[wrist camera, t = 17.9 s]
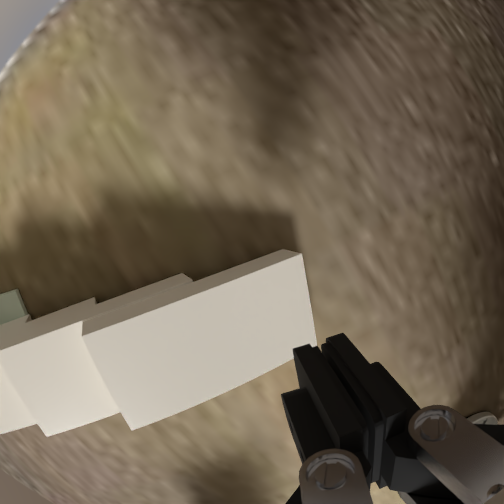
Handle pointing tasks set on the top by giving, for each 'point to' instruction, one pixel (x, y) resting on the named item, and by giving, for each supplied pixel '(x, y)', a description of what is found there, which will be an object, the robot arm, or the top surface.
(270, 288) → the domino
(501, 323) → the top surface
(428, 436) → the robot arm
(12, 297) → the end pad
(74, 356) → the domino
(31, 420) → the domino
